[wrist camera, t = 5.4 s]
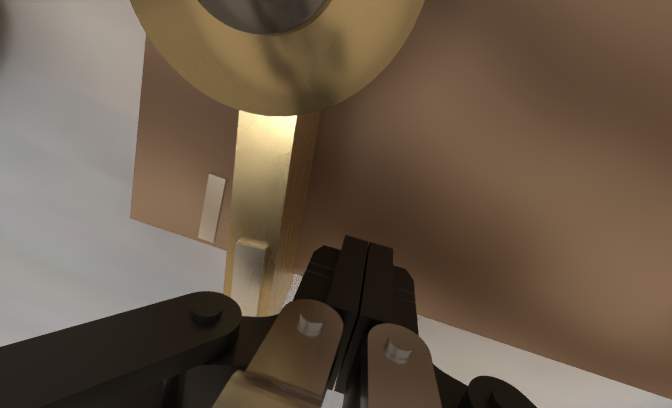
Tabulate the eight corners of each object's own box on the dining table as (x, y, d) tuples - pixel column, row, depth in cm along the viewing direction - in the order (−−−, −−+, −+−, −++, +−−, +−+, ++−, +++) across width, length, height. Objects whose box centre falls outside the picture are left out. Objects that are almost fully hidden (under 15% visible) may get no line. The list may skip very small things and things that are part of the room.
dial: (242, -134, 9) (67, -359, 4) (438, -98, 9) (501, -290, 4) (214, 254, 14) (112, 373, 9) (346, 286, 14) (320, 426, 8)
